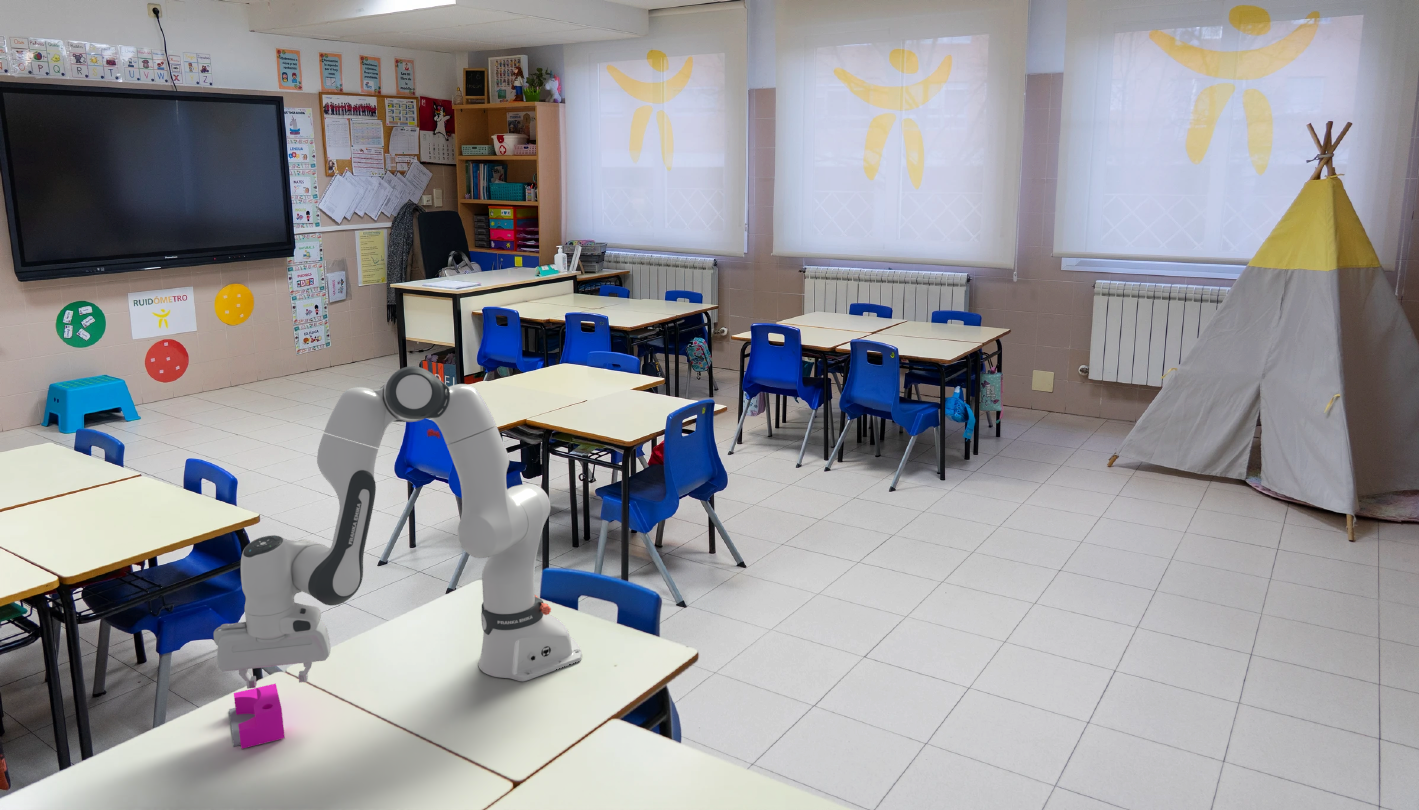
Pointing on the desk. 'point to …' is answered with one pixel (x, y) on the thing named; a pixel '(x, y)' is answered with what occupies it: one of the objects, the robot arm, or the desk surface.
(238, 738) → the mat
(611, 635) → the desk surface
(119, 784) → the desk surface
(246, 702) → the magenta notched part
